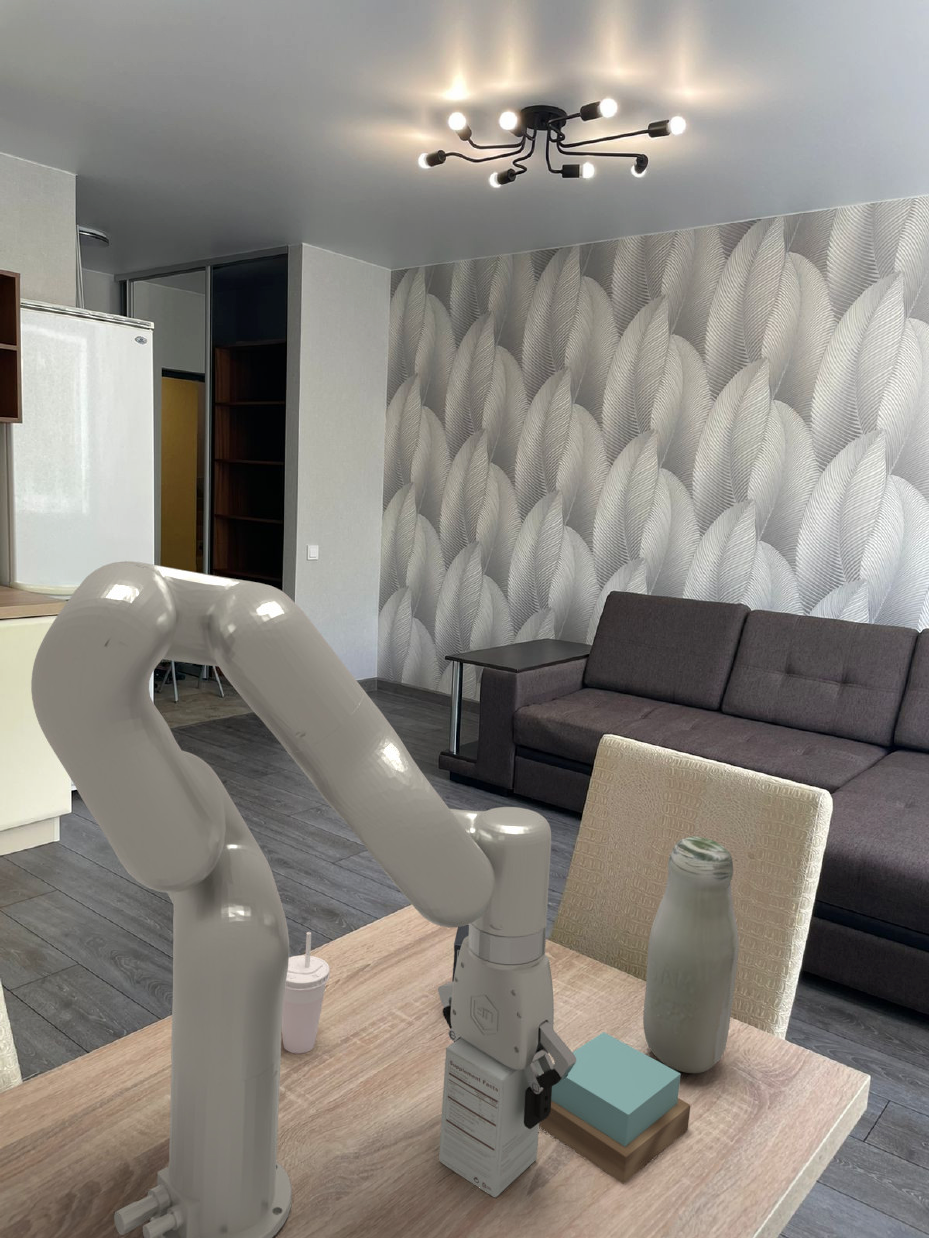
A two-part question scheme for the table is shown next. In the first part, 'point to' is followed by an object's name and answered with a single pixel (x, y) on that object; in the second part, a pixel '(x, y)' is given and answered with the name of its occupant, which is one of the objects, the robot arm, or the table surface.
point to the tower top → (617, 1088)
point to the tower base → (609, 1151)
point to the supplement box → (485, 1119)
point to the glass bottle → (692, 959)
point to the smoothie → (303, 1000)
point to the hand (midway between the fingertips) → (499, 1096)
